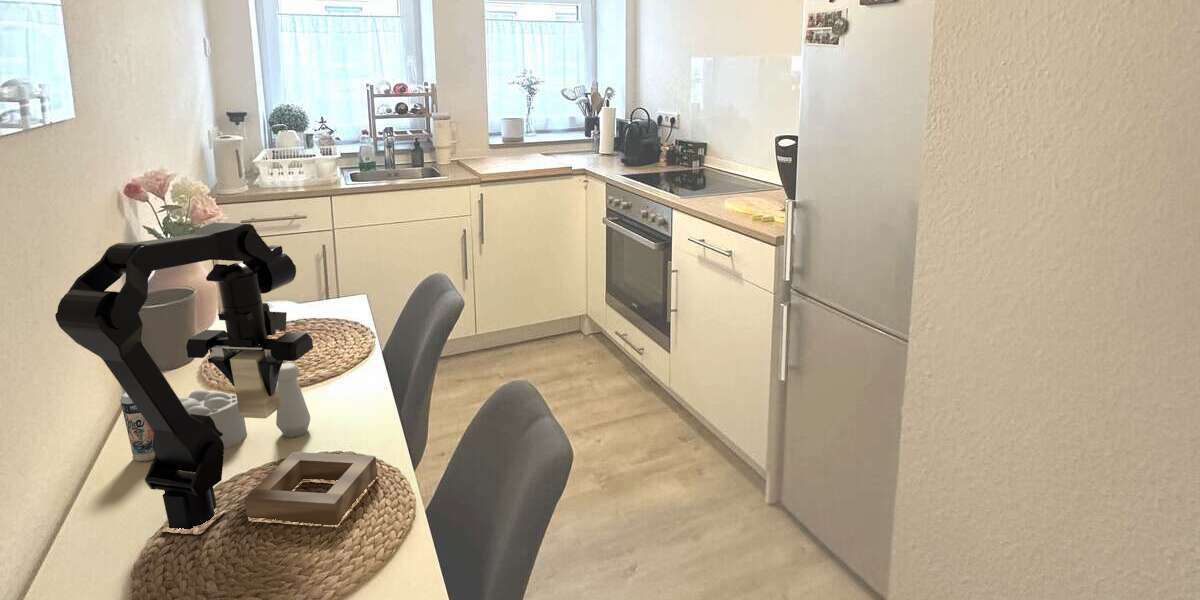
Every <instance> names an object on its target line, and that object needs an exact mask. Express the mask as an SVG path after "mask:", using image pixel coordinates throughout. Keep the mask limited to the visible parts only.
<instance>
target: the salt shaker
mask: <svg viewBox="0 0 1200 600" xmlns="http://www.w3.org/2000/svg"><path fill="white" fill-rule="evenodd" d="M299 369H300V368H299V367H298V365H297V364H295V363H292V362H286V363H284V362H283V363H282V365H281V368H280V372H279V376H278V380H277V385H278V391H279V397H280V403H281V407H280V408H278V409H277V410H276V419H275V422H276V423H275V424H276V427H277V428H278V429H279V430H280V431H281V434H282V435H283V437H284V438H297V437H301V436H303V435H305V434H306V432H307V431H308V429H309V427H310V426H309V425H310V422H311V415H310V411H309V409H308V406H307V404H306V401H305V398H304V395H303V392H302V389H301V387H300V382H299V381H298V377H299V376H300V370H299Z"/></svg>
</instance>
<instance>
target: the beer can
mask: <svg viewBox="0 0 1200 600" xmlns="http://www.w3.org/2000/svg"><path fill="white" fill-rule="evenodd" d="M119 402H120V404H121V409H122V413H123V418H124V423H125V427H126V431H127V435H128V439H129V440H128V441H129V444H130V449H131V453H132V459H133V460H135V461H138V462H149V461H153V460H154V457H155V455H156V454H155V452H154V450H153V448H152V440H153V433H154V432H153V430H152V428H151V427H150V425H149V424H148V423H147V421H146V420H145V418H144V417H143V416H142V414H141V413H140V411H139V410H138V409H137V407H136V406H135V404H134V403H133V402H132V400H131V399H130V397H129V396H128V395H127V393H126V392H125V391H124V392H122V393H121V397H120V399H119Z"/></svg>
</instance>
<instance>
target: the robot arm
mask: <svg viewBox="0 0 1200 600" xmlns="http://www.w3.org/2000/svg"><path fill="white" fill-rule="evenodd" d="M210 260H212V261H213V260H214V261H228V262H230V261H231V262H235V263H231V264H225V263H224V264H220V263H219V264H218V263H215V264H214V266H213V268H212V269H211V271H209V273H208V274H207V276H206V278H205V281H207V282H215V283H217V284H218V289H219V294H220V295H219V296H220V300H221V305H222V310H223V311H221V312H219V313H218V321H224V323H225V324H224V325H225V328H226V330H224V329H223V330H222V329H204V330H203V331H200V332H199V333H197V334H196V335H193V336H192V337H190V338H188V339H187V341H186V343H185V346H184V348H185V353H186V357H187V358H191V359H193V358H195V359H204V358H206V356H207V355H208V354H209V358H207V362H208V363H209V364H213V365H214V366H215V367H216V368H217V369H218V370H219V371H220V372H221V374H223V376H225V378H226V379H227V380H228V381H229V382H230V384H231V385H232V386H233V387H234V388H235V385H234V380H233V374H232V369H231V363H230V359H231V358H232V357H234V356H236V355H237V354H239V353H240V352H242V351H244V350H251V351H265V358H263V359H262V360H260V361H259V362H258V364H259V368H260V371H261V374H262V378H263V381H264V385H265V388H266V391H267V393H268V395H269V396H272V395H274V393H275V389H276V385H278V381H277V380H278V376H279V372H280V368H281V365H282V364H284V361H286V362H293V361H298V360H299V359H301V358H302V357H303V356H305V355H306V354H307V353H308V352H309V351H312V350H313V349H314V343H313V338H312V336H311V335H310V334H309V333H308V332H304V331H303V332H299V331H287V316H288V312H287V311H286V312H284V311H271V310H270V306H269V304H268V303H267V302H266V303H263V299H262V294H263V295H264V294H268V293H270V292H273V291H274V290H277V289H279V288H282V287H283V286H286V285H289V284H290V283H292V282H293V281H294V280H295V278H296V275H297V267H296V264H295V263H294V261H293V260H292V258H291V257H290V256H289V255H288V254H286V253H285V252H283V246H282V245H278V244H277V245H274V244H271V245H268V244H267V243H266V242H265V241H264V240H263V239H262V237H261V235H259V233H258V232H257V229H256V228H255V226H254V224H251V223H242V222H241V223H240V222H216V221H215V222H211V223H209V224H207V225H203V226H201V227H198V228H197V230H196V231H195V232H193V233H190V234H185V235H177V236H171V237H165V238H157V239H151V240H141V241H137V242H130V243H128V242H118V243H114V244H112V245H110V246H109V247H108V248H106V250H105V252H104V253H103V255H102V257H101V258H100V259H99V260H98V261H97V262H95V264H94V265H92V266H91V267H89V268H88V269H87V270H85V272H83V273H82V274H80V275H79V276H78V277H77V278H76V280H75V281H74V282H73V284H72V286H71V287H70V288H69V290H68V291H67V293H65V294H64V295H63V297H62V298H60V301H59V303H58V305H57V312H56V313H55V314H54V315H55V321H56V323H57V324H58V327H59V328H60V329H61V330H62V331H63V332H64V333H65V334H66V335H67V336H68V337H70V338H71V340H73V341H74V342H75V343H76V344H77V345H78V346H80V347H82V348H84V349H86V350H87V351H89V352H91V353H93V354H95V356H97V357H99V358H100V359H101V360H102V361H103V362H104V364H105V365H106V367H107V368H108V370H109V371H110V372H111V374H112V375H113V376H114V378H115V379H116V381H117V382H118V383H119V385H120V386H121V388H122V389H123V390H124V392H126V393H127V395H128V396H129V397H130V399H131V400H132V402H133V403H134V404H135V406H136V407H137V409H138V410H139V411H140V413H141V414H142V416H143V417H144V418H145V420H146V421H147V423H148V424H149V425H150V427H151V428H152V430H153V432H154V433H153V440H152V448H153V450H154V452H155V454H156V455H155V457H154V459H153V460H152V463H151V465H150V467H149V469H148V471H147V473H146V476H145V477H144V482H145V483H146V484H147V486H148V487H149V489H150V490H158V491H159V490H160V491H164V493H163V494H162V495H161V496H162V499H163V504H164V509H165V513H166V519H167V523H169V528H178V529H179V528H181V529H182V528H184V529H191V528H193V526H197V525H201V524H203V523H205V522H206V521H208V520H210V519H211V518H212V517H213V516H214V514H215V512H214V509H215V508H217V502H216V500H217V499H216V497H215V496H216V495H215V492H214V491H215V490H214V486H216V485H217V484H218V483H220V482H221V481H222V477H223V466H224V454H225V450H224V444H223V441H222V439H221V438H220V437H221V436H223V433H221V432H219V430H218V429H217V428H216V426H215V423H214V421H213V419H212V418H211V417H210V416H205V415H196V414H189V413H188V412H187V410H186V409H185V407H184V406H183V404H182V403H181V401H180V400H179V398H180V397H178V395H177V394H176V392H175V390H174V389H173V388H172V386H171V385H170V383H169V381H168V380H167V378H166V377H165V375H164V374H163V372H162V370H161V369H160V367H159V366H158V365H157V363H156V362H155V360H154V358H153V357H152V355H151V354H150V353H149V351H148V350H147V348H146V347H145V344H143V342H142V333H143V321H142V318H141V316H140V311H141V309H142V308H143V306H144V305H145V302H146V301H147V299H148V291H149V277H151V274H152V273H153V272H154V271H159V270H164V269H169V268H175V267H180V266H181V267H182V266H185V265H190V264H195V263H200V262H205V261H210ZM241 262H242V263H241ZM124 274H125V282H124V284H123V286H122V287H121V289H120V290H119V291H113V290H111V291H109V290H108V288H110V287H111V286H112V285H114V284H115V283H116V282H117V281H119V279H121V277H122V276H123V275H124ZM277 331H280V332H285V333H284V334H282V335H280V336H279V337H277V338H269V336H274V335H275V334H276V333H277ZM162 528H163V526H161V528H160V529H162Z"/></svg>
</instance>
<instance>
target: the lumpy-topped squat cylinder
mask: <svg viewBox="0 0 1200 600" xmlns="http://www.w3.org/2000/svg"><path fill="white" fill-rule="evenodd" d="M178 398H179V400H180V401H181V403H182V404H183V406H184V407H185V409H186V410H187V412H188V413H189V414H196V415H205V416H210V417H211V418H212V419H213V421H214V423H215V426H216V428H217V429H218V430H219V432H221V433H223V436H221V437H220V438H221V439H222V441H223V444H224V451H225V450H227V449H230V448H232V447H234V446H236V445H237V444H240V443H241V442H242V441H243V440H245V439H246V438H247V437H248V431H247V425H246V420H245V419H246V418H245V417H240V413H239V408H238V402H237V397H236V394H231V393H225V392H222V391H213V392H210V391H208V390H205V389H197V390H194V391H192V392H191V393H190V394H189V395H188V396H187V397H178Z"/></svg>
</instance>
